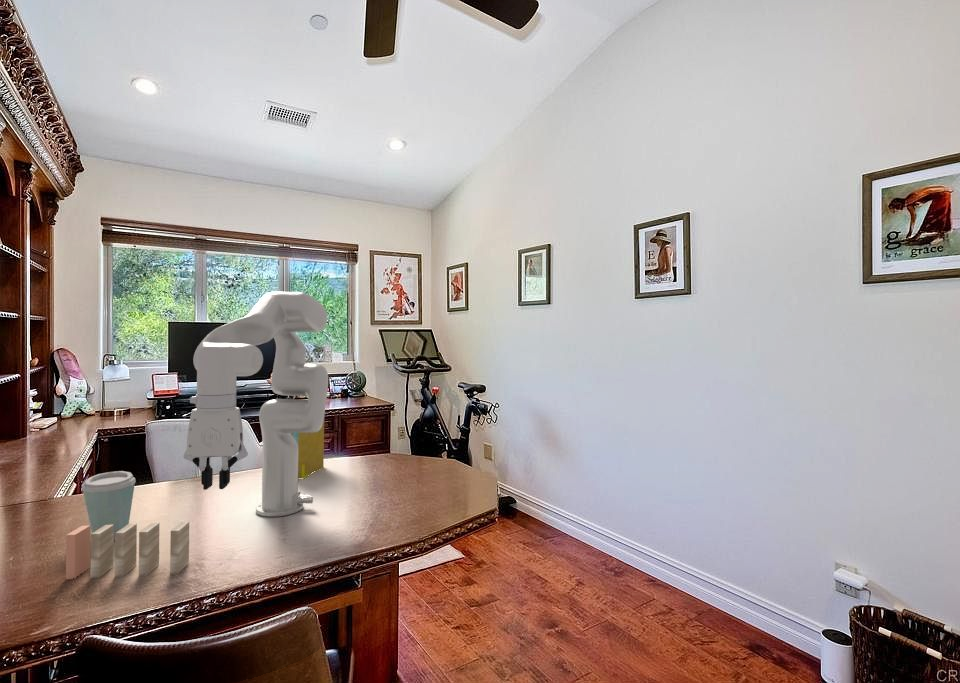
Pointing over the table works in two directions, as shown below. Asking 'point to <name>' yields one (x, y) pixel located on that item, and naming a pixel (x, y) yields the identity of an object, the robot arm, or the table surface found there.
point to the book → (310, 451)
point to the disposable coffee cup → (109, 499)
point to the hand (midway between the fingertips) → (215, 486)
